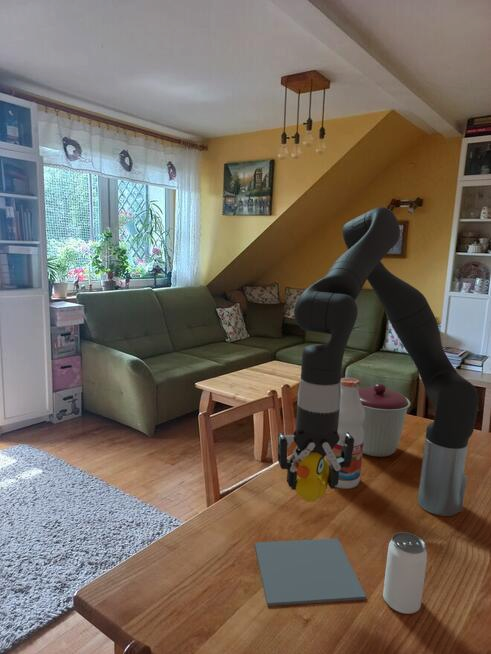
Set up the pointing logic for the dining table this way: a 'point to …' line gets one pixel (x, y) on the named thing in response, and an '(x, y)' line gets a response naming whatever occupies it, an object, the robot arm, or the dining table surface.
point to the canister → (382, 419)
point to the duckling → (312, 477)
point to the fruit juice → (350, 431)
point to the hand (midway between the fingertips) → (312, 486)
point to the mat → (306, 572)
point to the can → (405, 572)
